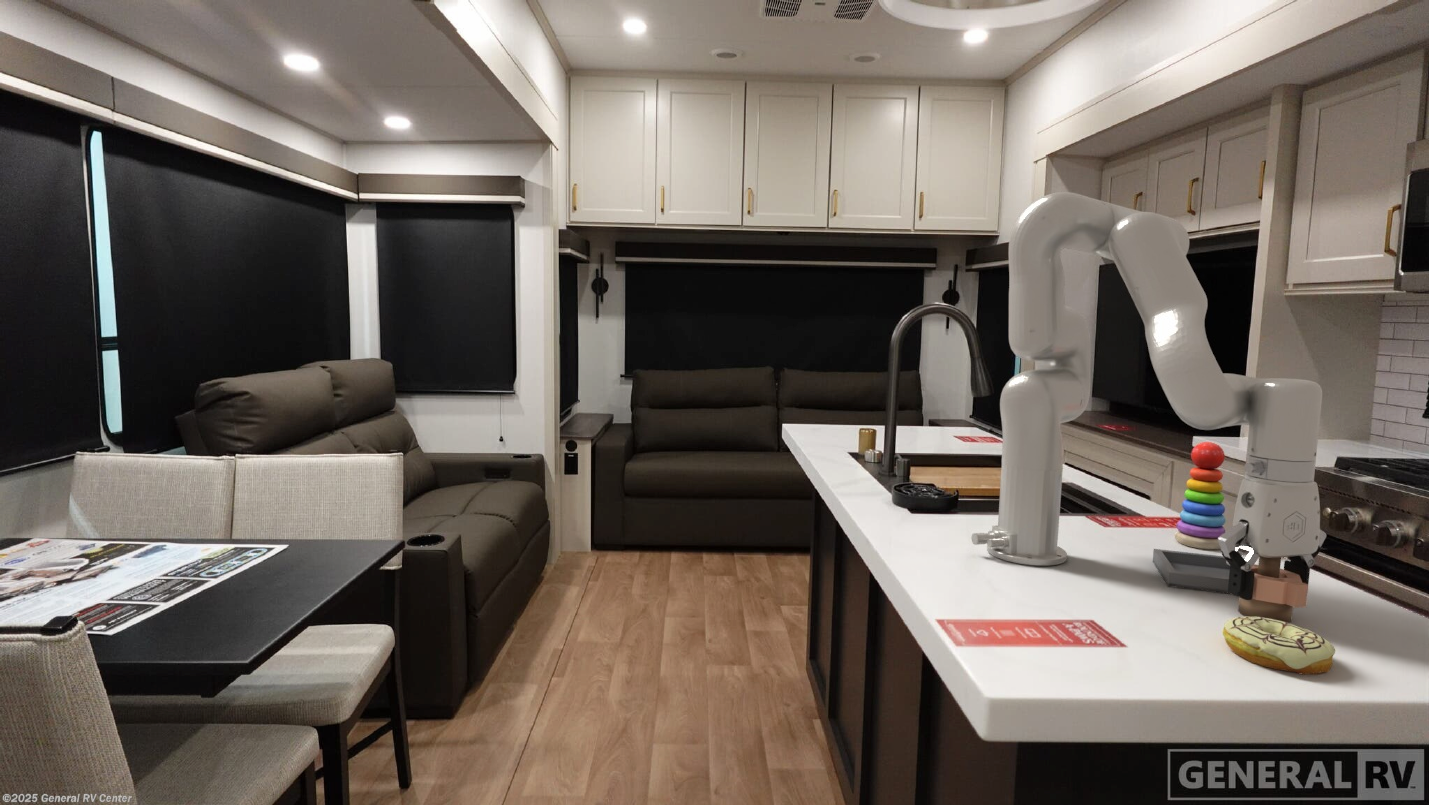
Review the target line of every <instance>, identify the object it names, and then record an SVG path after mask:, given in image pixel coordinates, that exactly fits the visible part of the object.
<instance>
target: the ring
mask: <svg viewBox="0 0 1429 805" xmlns="http://www.w3.org/2000/svg"><path fill="white" fill-rule="evenodd" d="M1251 571H1254V574H1255V575H1254V586H1253V596H1252V599H1255V600H1260V601H1266V602H1272V603H1278V604H1287V605H1290V606H1292V607H1293V608H1303V607H1306V606H1307V601H1308V600H1307V598H1308V593H1307V591H1308V592H1309V583H1308V584H1305V583H1302V580H1301V578H1300V576H1299V575H1298V574H1295V573H1292V572H1289V571H1286V570H1284V568H1280V574H1279V578H1273V577H1266V576H1261V575H1259V574H1258V564H1256V563H1255V564H1254V565H1253V567H1252V568H1251Z"/></svg>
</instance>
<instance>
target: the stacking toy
mask: <svg viewBox="0 0 1429 805" xmlns="http://www.w3.org/2000/svg"><path fill="white" fill-rule="evenodd" d="M1190 456H1191V457H1190V458H1191V460H1192V463H1193V464H1194V465H1195V467H1193V468H1191V469H1190V471H1189V475H1190V479H1188V480H1187V481H1186V487H1187V489H1186V490H1185V491H1184V497H1185V498H1186V499H1184V500H1183V502H1182V504H1181V507H1182V510H1181V512H1180V513H1179V517H1180V518H1179V519H1180V520H1178V521H1177V523H1176V528H1177V531H1176V532H1175V533H1174V539H1175V540H1176V542H1178V544H1179V543H1180V544H1181V545H1184V546H1187V547H1192V548H1196V549H1202V550H1221V548H1220V546H1219V543H1218V538H1219V537H1220V536H1221V535H1222V534H1224V533H1225V532H1226V529H1225V527H1224V525H1225V524H1226V521H1227V520H1226V517H1225V516H1224V513H1225V511H1226V508H1225V505H1224V504H1222V503H1223V502H1224V500H1225V496H1224V494H1223V493H1222V490H1223V489H1224V486H1223V484H1222V483H1221V480H1223V476H1224V474H1223V472H1222V471H1221V470H1219V469H1218V468H1219V467H1221V466H1222V464H1223V463H1224V461H1225V458H1226V457H1225V451H1224V449H1223V448H1222V447H1221V446H1220V445H1219V444H1217V443H1215V442H1211V441H1210V442H1209V441H1205V442H1199V443H1198V444H1196V445H1195V446H1194V447H1193V448H1192V450H1191V454H1190Z"/></svg>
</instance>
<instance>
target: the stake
mask: <svg viewBox="0 0 1429 805" xmlns="http://www.w3.org/2000/svg"><path fill="white" fill-rule="evenodd" d="M1281 563H1282V557H1277V558H1266V557H1262V556H1260V557H1259V558H1258V564H1257V565H1258V574H1259V575H1261V576H1266V577H1273V578H1279V574H1280V569H1281ZM1293 609H1294V607H1292V606H1290V605H1287V604H1278V603H1272V602H1266V601H1260V600H1255V599H1251V600H1245V599H1242V598H1240V597H1238V607H1237V612H1238V613H1240V614H1241V615H1242V616H1257V617H1263V618H1270V619H1275V620H1280V621H1284V622H1287V623H1290V624H1291V622H1292V620H1293V619H1292V618H1293Z"/></svg>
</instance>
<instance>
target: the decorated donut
mask: <svg viewBox="0 0 1429 805" xmlns="http://www.w3.org/2000/svg"><path fill="white" fill-rule="evenodd" d="M1222 636H1223V637H1224V641H1225V643H1226V645H1227V646H1228V648H1230V650H1232V653H1234V654H1235V655H1237V656H1239V657H1242V658H1243V659H1245V660H1246V661H1249V662H1250V663H1251V664H1257V665H1259V666H1261V667H1264V666H1265V667H1264V668H1272V669H1274V670H1277V671H1278V670H1280V671H1281V670H1283V671H1286V672H1289V671H1292V672H1291V673H1296V674H1299V673H1302V674H1301V675H1307V674H1308V675H1309V674H1310V675H1313V674H1314V675H1315V674H1316V675H1318V674H1320V673H1327V672H1329V671H1330V670H1331V667H1332V665H1333V662H1334V661H1333V660H1334V659H1333V657H1334V655H1335V654H1336V648H1335V647H1334V645H1333V644H1332V643H1331V642H1329V641H1328V640H1327V639H1326V638H1324V637H1322V636H1321V635H1318V634H1317V633H1316V632H1314V631H1313V630H1310V629H1307V628H1304V627H1301V626H1298V625H1295V624H1292V623H1291V622H1290V623H1287V622H1284V621H1280V620H1275V619H1270V618H1263V617H1257V616H1244V615H1242V616H1236V617H1233V618H1231V619H1229V620H1227V621H1226V622H1224V626H1223V630H1222Z"/></svg>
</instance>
